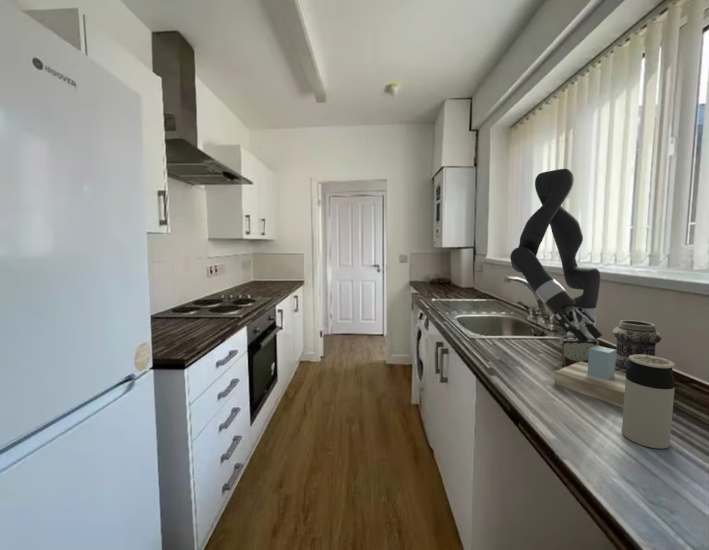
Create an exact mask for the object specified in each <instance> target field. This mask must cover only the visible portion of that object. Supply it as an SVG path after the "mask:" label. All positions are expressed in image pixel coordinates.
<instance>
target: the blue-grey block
mask: <svg viewBox="0 0 709 550" xmlns="http://www.w3.org/2000/svg"><path fill="white" fill-rule="evenodd" d="M615 362H616V348H615V349H614V348H610V347H605V346H600V345H599V346H598V345H597V346H594V347H591V348H589V356H588V373H587V375H591V376H594V377H598V378H601V379H604V380H609V379H610V378H612V377H614V376H615V371H616V364H615Z"/></svg>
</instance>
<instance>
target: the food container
mask: <svg viewBox="0 0 709 550" xmlns="http://www.w3.org/2000/svg"><path fill="white" fill-rule="evenodd" d="M587 338H588V339H589V340H588V341H587V342H585V343H581V342H580V341H579V340H578V339H577V338H576V336H575V335H567V334H565V335H562V336H561V337H560V339H559V344H560V345H561V352H562V353H561V355H562V357H561V359H562V366H563V368H565V367H567V366H570V365H573V364H575V363H578V362H580V361H581V362H585V363H588V356H589V348H591V347H594V346H600V341H599V339H598V338H597V339H595V338H591V337H587Z"/></svg>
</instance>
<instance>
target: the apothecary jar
mask: <svg viewBox="0 0 709 550" xmlns="http://www.w3.org/2000/svg"><path fill="white" fill-rule="evenodd" d="M612 335H613V336H614V337H615V338H616V345H615V347H616V348H615V350H616V362H615V366H618V367H619V368H621V369H620V370H617V371H618V372H622V373H626V370H627V369H628V367H629V366H630V365H631V363H630V359H629V356H630V355H635V354H640V355H650V356H656V345H657V344H658V343H660V342H661V341H662V335H661V334H660V333H659V332H658V331H657V329H656V326H655V324H654V323H651V322H647V321H643V320H642V321H641V320H634V319H633V320H632V319H622V320H619V324H618V326H615V327H614V328H613V330H612Z"/></svg>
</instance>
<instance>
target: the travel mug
mask: <svg viewBox="0 0 709 550" xmlns="http://www.w3.org/2000/svg"><path fill="white" fill-rule="evenodd" d="M629 359H630V363H631V365H630V366H629V367H628V369H627V370H626V369H625V370H626V381H625V395H624V408H623V411H622V412H623V413H622V423H621V424H622V426H621V433H622V434H623V435H624V437H626V439H628V440H630V441H632V442H633V443H636V444H637V445H641V446H643V447H647V448H651V449H667V448H669V447H670V444H671V435H672V422H673V421H672V420H673V411H674V400H675V399H674V398H675V388H676V378H675V377H674V374H673V373H672V371H673V368H675V366H676V364H675V363H674V362H673V361H671V360H669V359H666V358H663V357H660V356H656V355H655V356H650V355H640V354H635V355H630V356H629Z"/></svg>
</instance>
